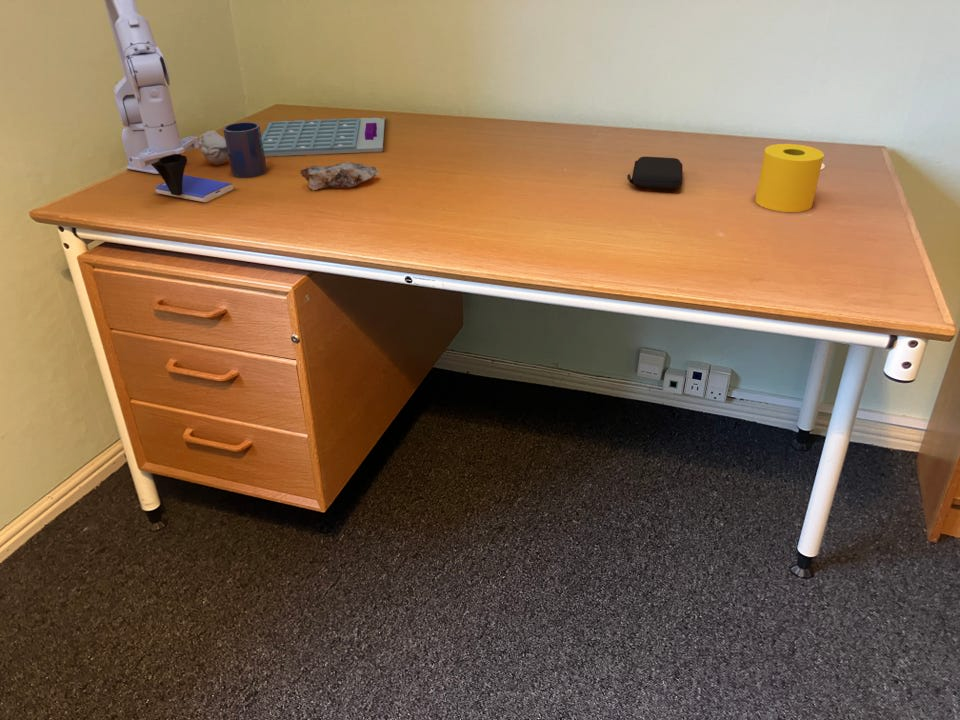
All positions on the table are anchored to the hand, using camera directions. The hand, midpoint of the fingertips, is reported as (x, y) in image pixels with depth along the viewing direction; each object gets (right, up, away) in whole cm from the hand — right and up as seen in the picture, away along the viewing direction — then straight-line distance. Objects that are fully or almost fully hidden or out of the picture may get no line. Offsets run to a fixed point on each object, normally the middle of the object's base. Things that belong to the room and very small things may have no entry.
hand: (176, 194), depth 146 cm
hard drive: (+2, +1, +4) cm, 5 cm away
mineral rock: (+31, +3, +7) cm, 32 cm away
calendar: (+21, +21, +35) cm, 46 cm away
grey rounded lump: (+1, +11, +19) cm, 22 cm away
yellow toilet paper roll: (+115, -3, -5) cm, 116 cm away
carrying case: (+94, +4, +6) cm, 94 cm away
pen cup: (+10, +8, +14) cm, 19 cm away
